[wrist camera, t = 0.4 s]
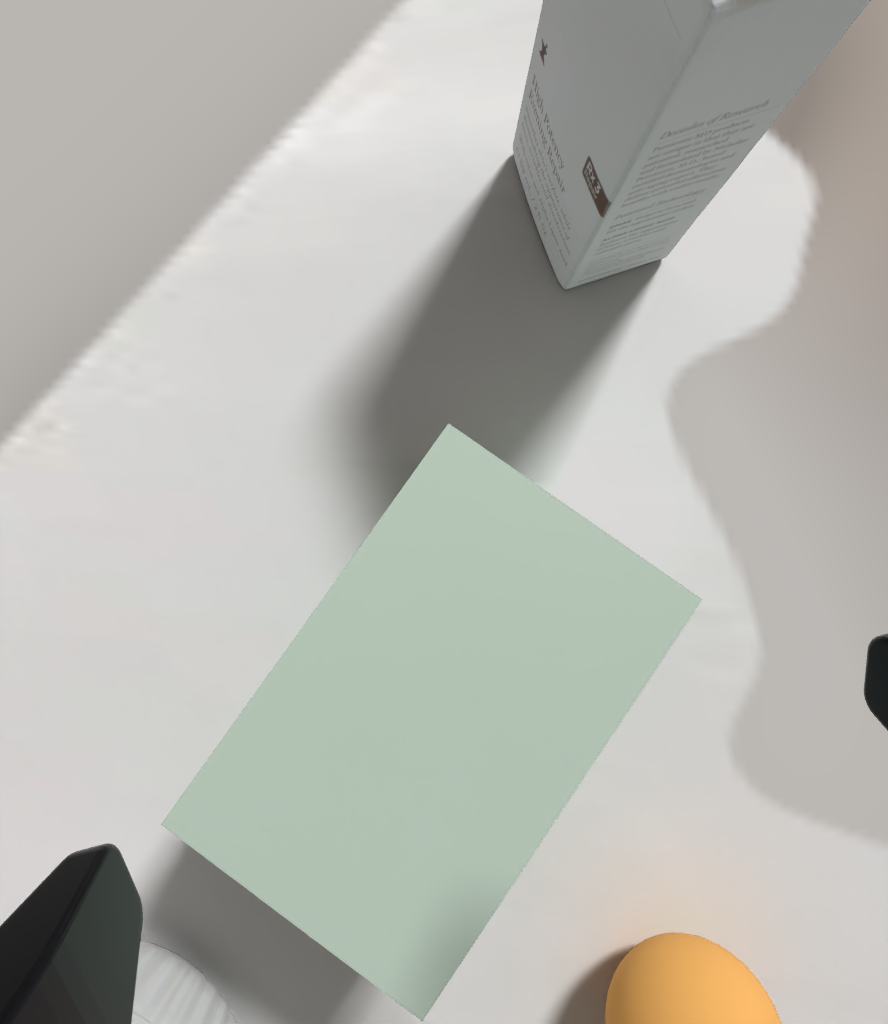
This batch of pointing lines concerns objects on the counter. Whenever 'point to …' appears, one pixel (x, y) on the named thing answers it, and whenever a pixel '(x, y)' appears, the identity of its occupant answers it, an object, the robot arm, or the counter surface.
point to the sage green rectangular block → (432, 719)
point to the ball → (685, 985)
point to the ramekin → (175, 991)
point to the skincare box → (653, 115)
